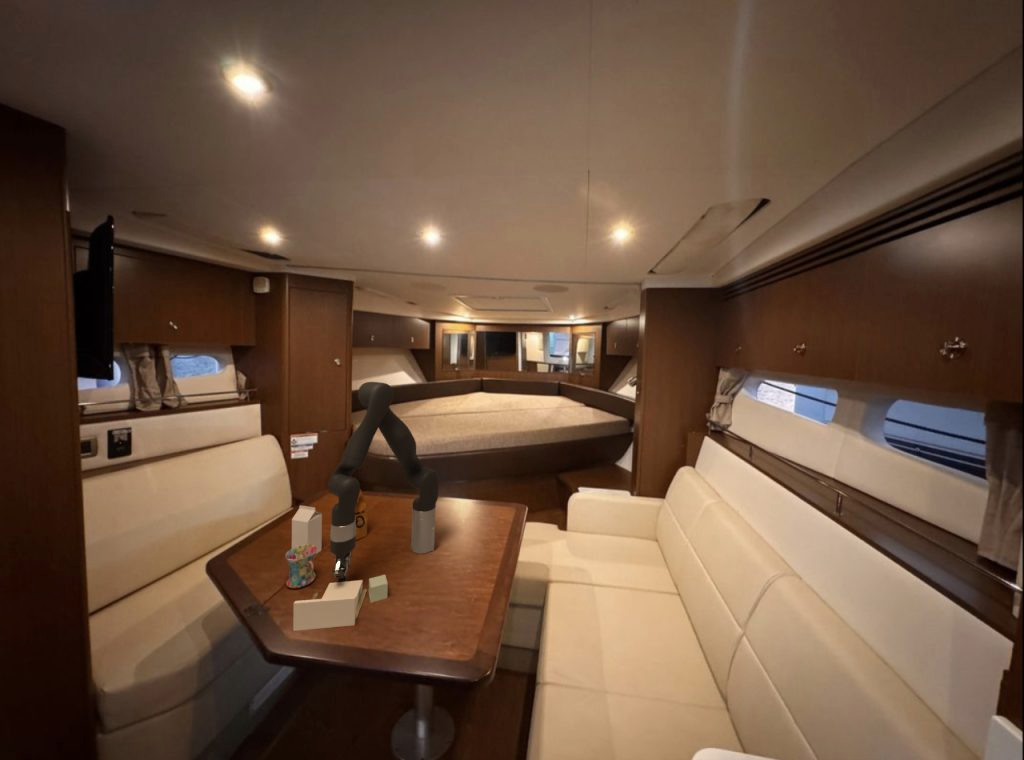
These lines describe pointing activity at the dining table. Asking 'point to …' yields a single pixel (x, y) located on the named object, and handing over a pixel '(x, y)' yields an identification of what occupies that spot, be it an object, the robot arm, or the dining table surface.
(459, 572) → the dining table surface
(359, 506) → the coffee package
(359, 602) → the frame
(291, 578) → the mug
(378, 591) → the green box
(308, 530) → the milk carton
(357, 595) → the carton
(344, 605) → the backdrop
